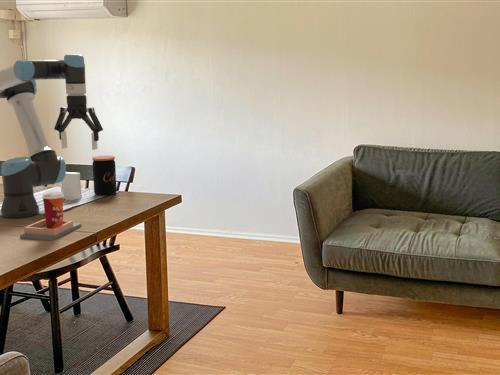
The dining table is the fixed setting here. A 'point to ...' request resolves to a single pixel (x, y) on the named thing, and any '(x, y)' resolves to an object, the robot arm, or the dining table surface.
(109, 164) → the coffee jar
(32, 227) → the cup stand
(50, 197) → the paper cup
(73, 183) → the cylinder with rectangular tab
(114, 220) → the dining table surface
